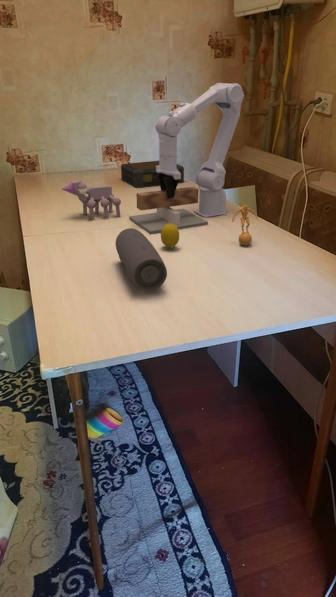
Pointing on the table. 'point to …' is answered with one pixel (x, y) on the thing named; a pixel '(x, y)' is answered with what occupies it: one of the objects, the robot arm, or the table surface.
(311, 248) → the table surface
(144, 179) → the cash box
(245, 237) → the figurine
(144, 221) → the fulcrum stand
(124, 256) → the bluetooth speaker
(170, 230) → the lemon
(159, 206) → the walnut beam
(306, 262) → the table surface
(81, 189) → the purple toy animal
